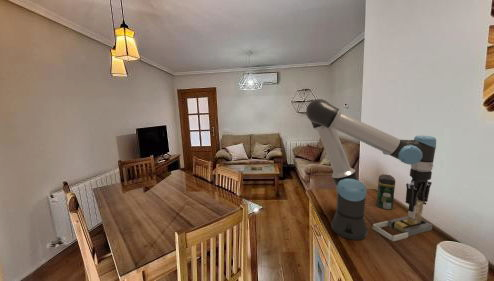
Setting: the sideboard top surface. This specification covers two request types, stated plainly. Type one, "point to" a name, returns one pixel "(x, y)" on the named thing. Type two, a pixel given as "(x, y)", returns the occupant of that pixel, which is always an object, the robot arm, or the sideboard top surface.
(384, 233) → the white u-shaped frame
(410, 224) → the olive small block
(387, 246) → the sideboard top surface
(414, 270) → the sideboard top surface
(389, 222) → the grey shallow tray
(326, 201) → the sideboard top surface
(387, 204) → the coffee jar
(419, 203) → the beige tall block
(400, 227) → the chip
